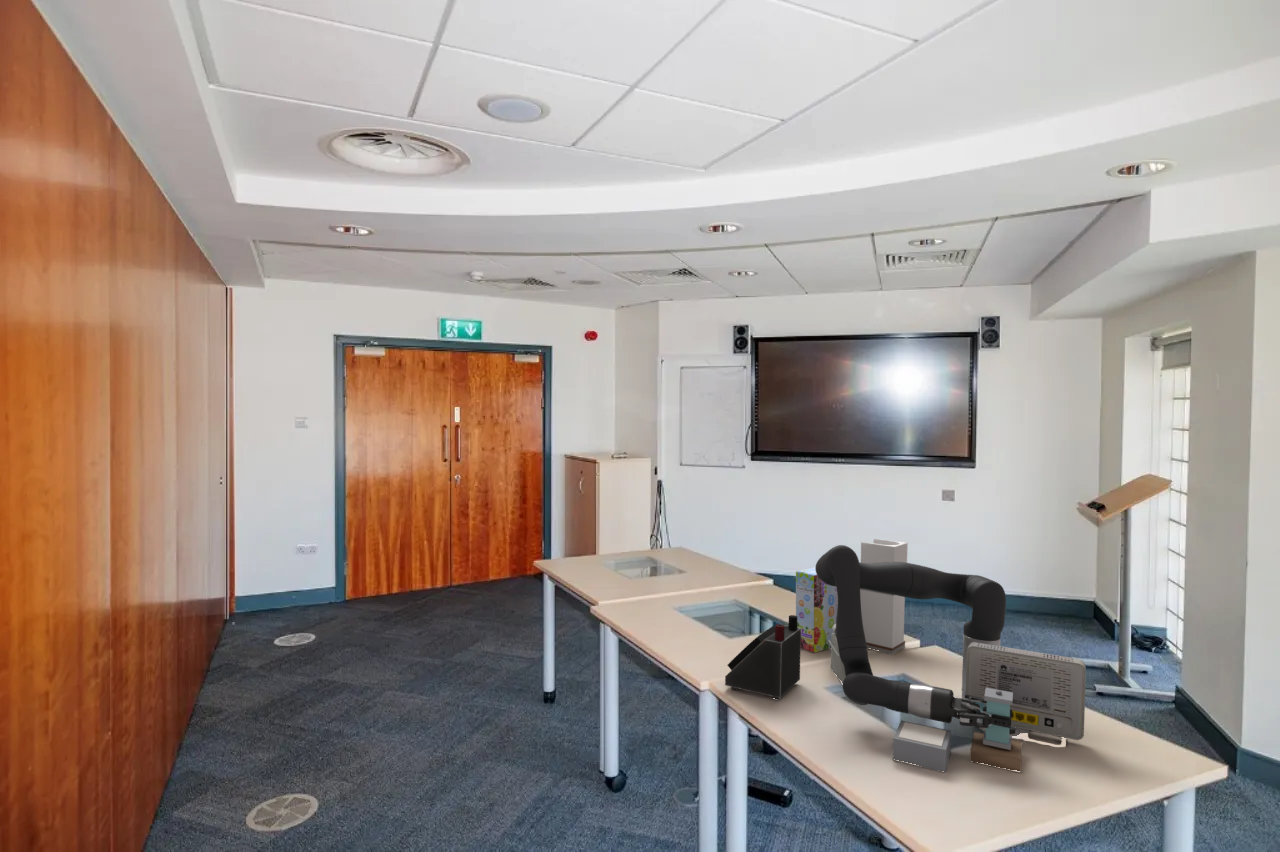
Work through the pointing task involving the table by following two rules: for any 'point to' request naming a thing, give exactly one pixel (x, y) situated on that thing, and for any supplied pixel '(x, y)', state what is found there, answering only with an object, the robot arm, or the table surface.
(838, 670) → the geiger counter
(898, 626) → the tall open-top box
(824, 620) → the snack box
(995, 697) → the housing
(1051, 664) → the network device
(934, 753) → the grey plinth
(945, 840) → the table surface
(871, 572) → the robot arm
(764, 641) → the voltmeter
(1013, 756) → the walnut block
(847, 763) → the table surface
